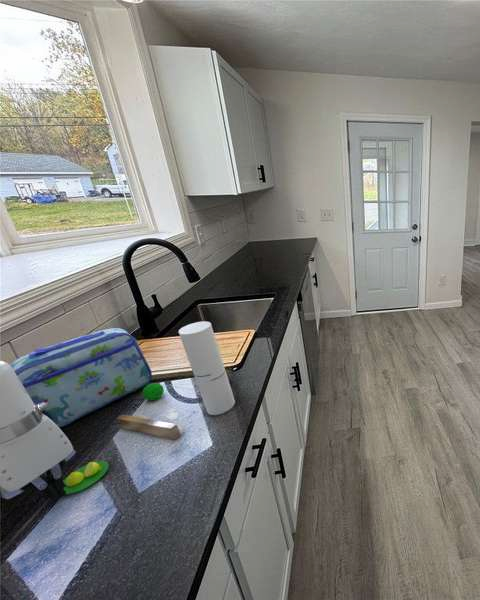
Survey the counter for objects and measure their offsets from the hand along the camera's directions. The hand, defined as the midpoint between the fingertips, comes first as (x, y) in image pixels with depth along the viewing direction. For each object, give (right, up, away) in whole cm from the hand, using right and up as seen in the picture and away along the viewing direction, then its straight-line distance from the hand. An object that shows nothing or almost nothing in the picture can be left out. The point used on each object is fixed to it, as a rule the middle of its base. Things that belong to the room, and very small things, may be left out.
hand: (56, 495), depth 64 cm
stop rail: (+6, +6, +17) cm, 19 cm away
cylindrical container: (+19, +10, +25) cm, 33 cm away
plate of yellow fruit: (+1, +1, +5) cm, 5 cm away
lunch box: (-19, +9, +29) cm, 36 cm away
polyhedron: (-3, +10, +30) cm, 32 cm away
